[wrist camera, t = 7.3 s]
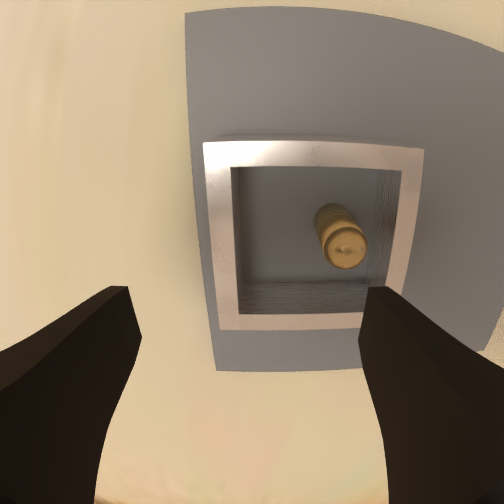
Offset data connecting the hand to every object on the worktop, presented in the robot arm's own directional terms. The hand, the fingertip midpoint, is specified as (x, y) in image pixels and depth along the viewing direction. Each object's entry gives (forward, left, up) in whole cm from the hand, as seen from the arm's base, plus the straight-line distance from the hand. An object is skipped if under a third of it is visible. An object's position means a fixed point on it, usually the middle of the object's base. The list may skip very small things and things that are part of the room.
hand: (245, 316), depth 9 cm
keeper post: (-4, 0, -9) cm, 9 cm away
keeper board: (-8, 0, -9) cm, 12 cm away
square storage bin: (-3, 0, -8) cm, 8 cm away
